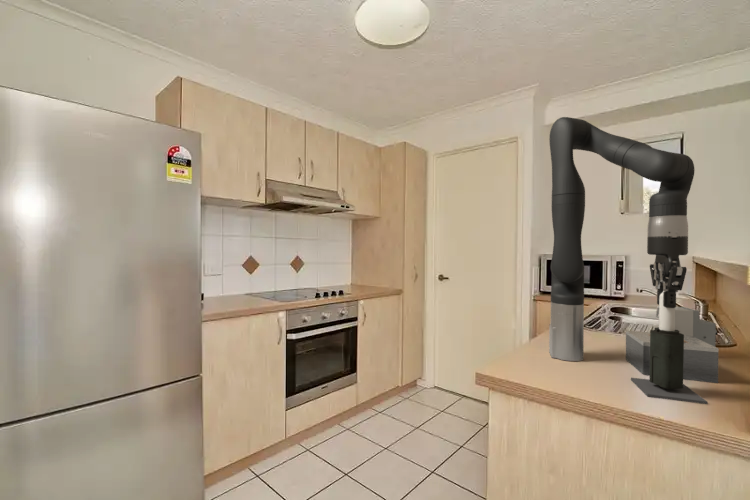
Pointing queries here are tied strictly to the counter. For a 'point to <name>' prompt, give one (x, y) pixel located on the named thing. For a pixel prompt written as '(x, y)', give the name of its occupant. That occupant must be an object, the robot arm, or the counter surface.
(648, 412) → the counter surface
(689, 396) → the mat
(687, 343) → the box
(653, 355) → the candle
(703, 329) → the circuit breaker
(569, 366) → the counter surface
